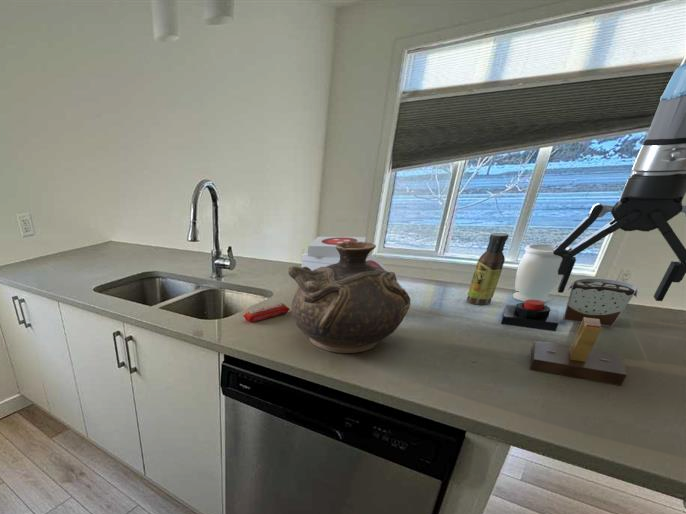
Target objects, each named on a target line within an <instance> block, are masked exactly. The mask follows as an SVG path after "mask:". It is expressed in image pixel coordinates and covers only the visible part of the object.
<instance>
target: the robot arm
mask: <svg viewBox="0 0 686 514" xmlns="http://www.w3.org/2000/svg"><path fill="white" fill-rule="evenodd" d="M631 170H632V171H633V172H634V173H633V174H631V175H630V176H628V178H627V180H626V183H625V185H624V187H623V189H622V192H621V195H620V198H619V199H618V200H617V202H616V203H615V204H614V205H611V204H603V203H601V202H596V203H593V205H592V206H591V208H590V211H589V212H588V214H587V216H585V217H584V218H583V219H582V221H580V222H579V223H578V224H577V225H576V226H575V227H574V228H573V229H572V230H571V231H570V232H569V233H568V234H567V235H566V236H565V237H564V238H563V239H562V240H561V241H559V243H558V244H556V245H557V246H556V247H555V248H554V249H553V254H554V255H558V256H560V257H562V260H561V263H560V265H559V268H558V275H562V277H561V279H560V281H559V283H558V287H557V293H560V294H563V293H564V291H565V289H566V286H567V284H568V281H569V278H570V276H571V274H572V271H573V269H574V266H575V264H576V261H577V259H576V256H577V255H578V254H580V253H582V252H583V251H585V250H586V249H588V248H589V247H592V246H593V245H595V244H597V242H600V241H601V240H602V239H604V238H606V237H607V236H609V235H611V234H613V233H615V232H616V231H618V230H622V231H624V232H634V231H639V232H647V233H648V232H649V233H650V231H653V230H656V229H657V230H658V232H659V233H660V234H661V236H662V237H663V239H664V240H665V241H666V243H667V244H668V246H669V248H670V249H671V250H672V251H673V253H674V255H675V256H676V258H677V259H678V261H670V263H669V266H668V268H667V269H666V271H665V273H664V275H663V277H662V279H661V281H660V283H659V284H658V286H657V288H656V290H655V292H654V294H653V298H654V300H655V302H663V300H664V298H665V296H666V295H667V293H668V291H669V289H670V287H671V285H672V283H680V282H681V281H683V279H684V277H685V275H686V247H685V245H683V242H682V241H681V240H680V238H679V237H678V236H677V234H676V233H675V231H674V230H673V228H672V226H671V225H670V224H669V221H670V220H672V219H674V217H676V216H677V215H679V214H680V213H683V214H684V217H686V204H683V200H684V197H685V195H686V62H684V63H682V64H681V65H679V67H677V68H676V69H675V71H673V74H672V76H671V78H670V80H669V81H668V84H667V85H666V87H665V89H664V91H663V93H662V95H661V96H660V99H659V104H658V106H657V108H656V112H655V114H654V115H653V119H652V121H651V124H650V127H649V129H648V131H647V134H646V136H645V138H644V140H643V143H642V144H641V147H640V150H639V152H638V154H637V157H636V159H635V161H634V164H633V166H632V168H631ZM608 213H611V215H612V217H613V219H612V220H610V221H608V222H607V223H606V224H604V226H602V227H601V228H599V229H598V230H595V232H593V233H591V234H590V235H588V236H587V237H585V238H584V239H582V240H580V241H579V242H578V243H576V244H574V245H573V246H570V245H572V244H573V243H574V242H575V241H576V240H577V239H578V238H579V237H581V235H582V234H583V233H584V232H585V231H586V230H587V229H589V227H591V226H592V225H593V224H594V223H595V221H596V220H597V219H598V218H602V217H604V216H605V215H606V214H608ZM567 247H571V248H570V249H568V250H566V248H567Z"/></svg>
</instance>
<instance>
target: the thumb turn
mask: <svg viewBox="0 0 686 514" xmlns="http://www.w3.org/2000/svg"><path fill="white" fill-rule="evenodd" d="M602 328H603V327H602V325H601V324H600V320H599V319H594V318H585V317H584V318H583V320H582V322H580V325H579V327H578V328H577V331H576V333H575V335H574V338H573V340H572V342H571V344H570V346H571V347H570V349H569V353H570V360H576V361H582V362H586V360H587V358H588V356H589V354H590V352H591V350H592V349H593V347H594V345H595V343H596V341H597V340H598V337H599V335H600V333H601V331H602Z"/></svg>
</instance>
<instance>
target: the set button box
mask: <svg viewBox="0 0 686 514" xmlns="http://www.w3.org/2000/svg"><path fill="white" fill-rule="evenodd" d="M524 303H525V302H519V303H517V304H516V305H512V304H511V305H510V304H505V307H504V310H503V313H502V318H501V321H500V325H504V326H513V327H520V328H528V329H536V330H541V331H542V330H544V331H550V332H556V331H557V328H558V326H559V310H556V309H551V307H550V306H548V305H546V304H545V305H544V307H543V310H531V309H526V308H524V307H523V306H524Z"/></svg>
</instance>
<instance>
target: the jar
mask: <svg viewBox="0 0 686 514" xmlns="http://www.w3.org/2000/svg"><path fill="white" fill-rule="evenodd" d="M557 245H558V244H554V243H532V244H531V243H530V244H527V245H525V246H524V249H523V250H524V252H525V253H524V254H523V256H522V257H521V259H520V261H519V263H518V266H517V270H516V274H515V280H514V281H515V282H514V288H515V289H514V290H515V292H514V293H513V294H512V297H513V299H515V300H517V301H519V302H523V303H525V301H526V300H540V301H543V302H545V303H546V302H548V301H549V295H550V294H551V293H552V292H553V291H554V290H555V288H556V287H557V285H559V283H560V281H561V279H562V277H563V275H558V268H559V265H560V263H561V260H562V257H560V256H558V255H554V254H553V249H554V248H555V247H556V246H557ZM571 247H572V246H568V247H567V248H566V250H568V249H570V248H571ZM516 291H519V292H516Z"/></svg>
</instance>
